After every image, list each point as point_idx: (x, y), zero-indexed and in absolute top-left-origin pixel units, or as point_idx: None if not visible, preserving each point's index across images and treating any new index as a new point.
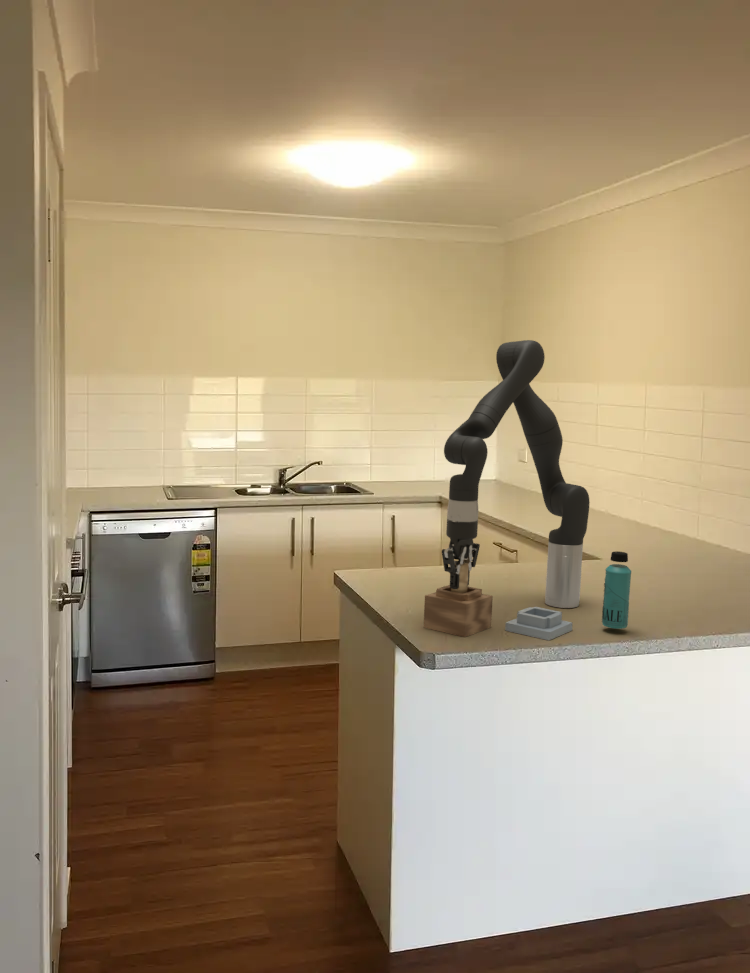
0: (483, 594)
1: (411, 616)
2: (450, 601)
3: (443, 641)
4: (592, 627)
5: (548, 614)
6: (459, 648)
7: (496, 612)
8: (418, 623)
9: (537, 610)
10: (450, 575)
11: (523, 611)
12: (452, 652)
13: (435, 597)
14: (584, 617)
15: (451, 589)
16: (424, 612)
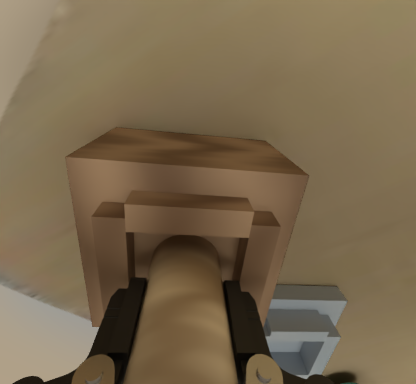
0: (261, 306)
1: (205, 10)
2: (84, 276)
3: (52, 232)
4: (344, 360)
5: (310, 355)
6: (41, 277)
7: (386, 208)
8: (143, 88)
9: (320, 342)
10: (92, 350)
11: (279, 338)
12: (4, 280)
13: (79, 211)
14: (410, 335)
15: (156, 262)
16: (99, 138)
